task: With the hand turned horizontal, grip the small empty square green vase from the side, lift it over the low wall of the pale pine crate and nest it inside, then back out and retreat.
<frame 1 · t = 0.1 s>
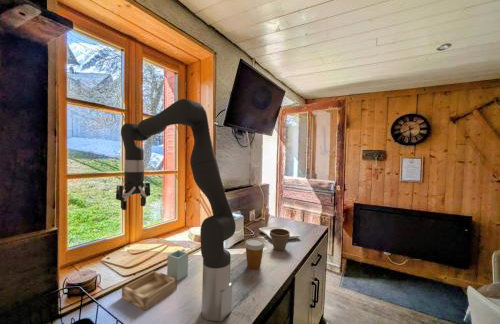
hand: (133, 207, 96), 29 cm above the worktop, tool pointing down, fingers open, 8 cm apart
salad plate: (278, 236, 150), on the worktop
pine crate: (150, 293, 84), on the worktop
square green vase: (177, 276, 96), on the worktop
disposable coffee cup: (253, 267, 107), on the worktop
flower pot: (279, 249, 129), on the worktop
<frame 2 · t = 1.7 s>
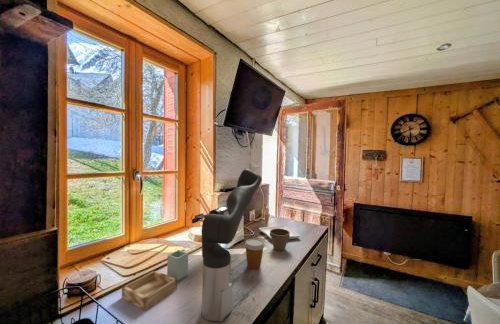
hand: (199, 222, 107), 20 cm above the worktop, tool horizontal, fingers open, 8 cm apart
nothing on the worktop moved.
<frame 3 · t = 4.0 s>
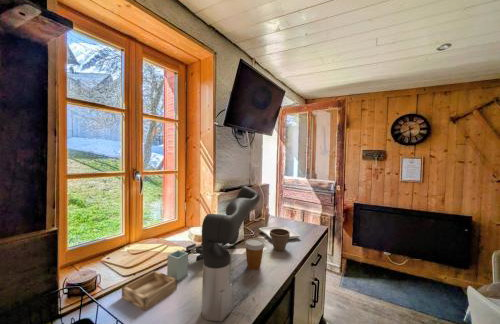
hand: (189, 256, 102), 6 cm above the worktop, tool horizontal, fingers open, 8 cm apart
nothing on the worktop moved.
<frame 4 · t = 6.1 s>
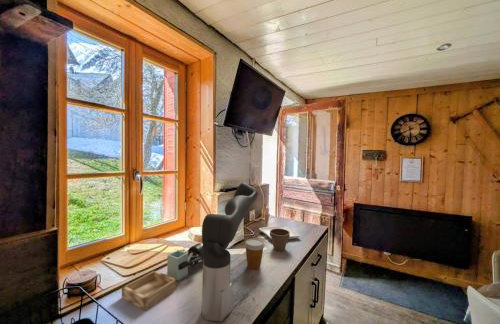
hand: (173, 265, 94), 6 cm above the worktop, tool horizontal, fingers closed on square green vase, 6 cm apart
square green vase: (177, 276, 96), on the worktop, touching gripper
everything else where it was.
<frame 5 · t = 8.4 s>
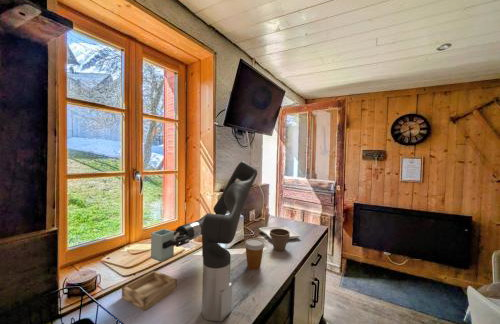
hand: (157, 244, 86), 18 cm above the worktop, tool horizontal, fingers closed on square green vase, 6 cm apart
square green vase: (162, 257, 88), point 12 cm above the worktop, touching gripper
everything else where it was.
when the fingers open (9 cm above the worktop, at t = 11.0 s): square green vase drops 2 cm, resting on pine crate.
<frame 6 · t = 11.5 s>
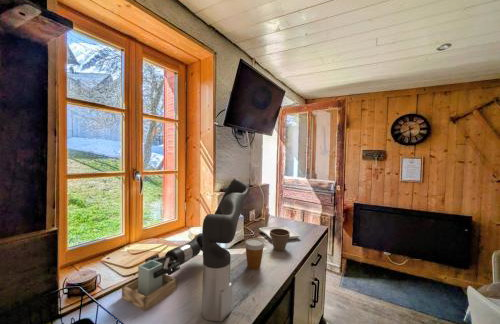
hand: (146, 272, 82), 9 cm above the worktop, tool horizontal, fingers open, 8 cm apart
square green vase: (150, 290, 84), point 1 cm above the worktop, touching pine crate
everything else where it was.
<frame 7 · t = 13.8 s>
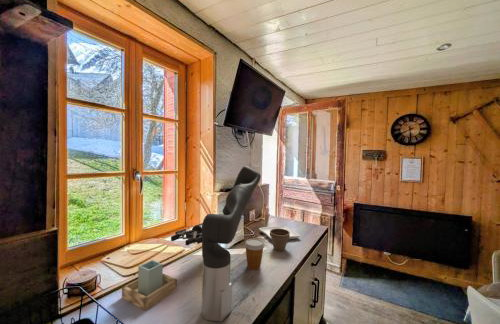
hand: (178, 240, 94), 16 cm above the worktop, tool horizontal, fingers open, 8 cm apart
nothing on the worktop moved.
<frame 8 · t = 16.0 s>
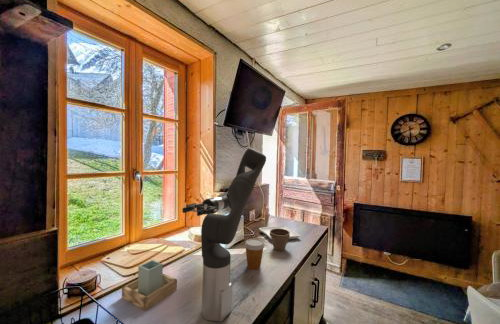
hand: (190, 212, 97), 28 cm above the worktop, tool horizontal, fingers open, 8 cm apart
nothing on the worktop moved.
at the end: square green vase inside the target area on the pine crate (0.1 cm from its centre), point 1.0 cm above the pine crate's base; square green vase tilted 0°; the gripper is holding nothing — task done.
